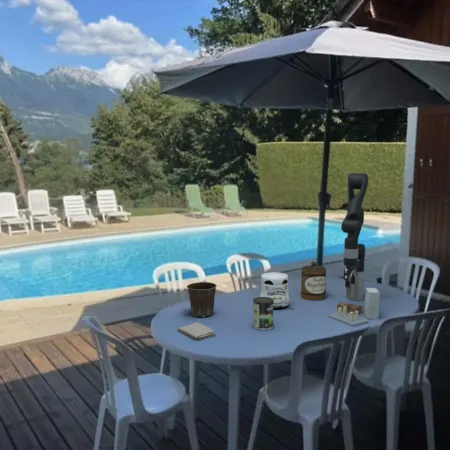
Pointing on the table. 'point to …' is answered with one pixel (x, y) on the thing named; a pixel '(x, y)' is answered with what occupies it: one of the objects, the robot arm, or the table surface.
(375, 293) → the skincare box
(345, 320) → the peg stand
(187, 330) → the washcloth
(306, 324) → the table surface
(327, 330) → the table surface
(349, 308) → the plank
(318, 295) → the wooden container
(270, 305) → the coffee can
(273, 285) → the milk container
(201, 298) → the plant pot
